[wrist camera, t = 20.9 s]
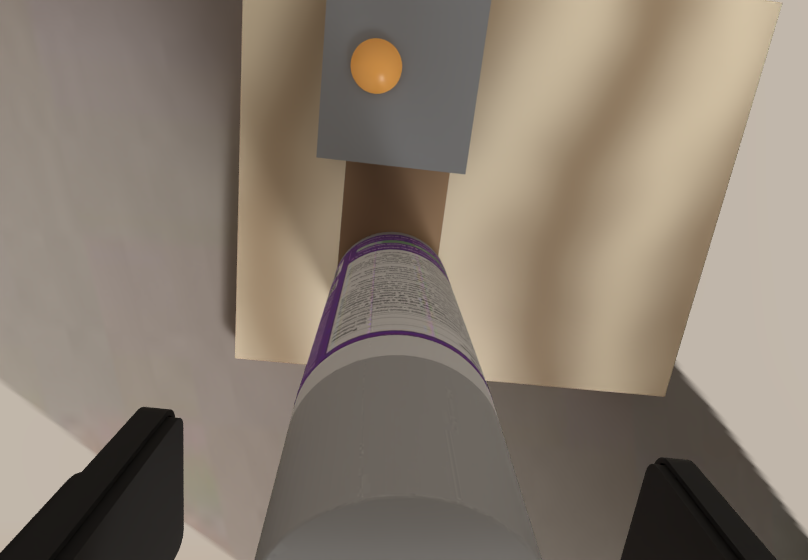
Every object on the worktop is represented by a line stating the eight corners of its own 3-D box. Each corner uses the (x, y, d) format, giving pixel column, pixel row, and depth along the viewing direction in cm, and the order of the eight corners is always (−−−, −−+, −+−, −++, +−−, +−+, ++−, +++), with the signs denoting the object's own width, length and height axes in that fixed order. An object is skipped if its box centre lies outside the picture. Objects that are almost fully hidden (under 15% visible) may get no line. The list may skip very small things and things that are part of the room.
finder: (481, -8, 18) (497, -28, 16) (456, 166, 20) (466, 175, 18) (337, -28, 18) (328, -51, 16) (324, 151, 20) (315, 158, 17)
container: (394, 360, 23) (407, 777, 9) (309, 290, 22) (165, 636, 8) (471, 283, 22) (628, 610, 8) (387, 206, 21) (388, 422, 7)
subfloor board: (760, 8, 20) (782, 2, 19) (651, 383, 25) (664, 396, 24) (252, -63, 19) (244, -74, 18) (242, 346, 24) (235, 358, 23)
